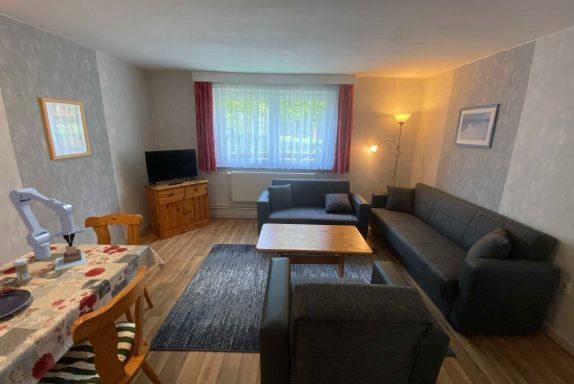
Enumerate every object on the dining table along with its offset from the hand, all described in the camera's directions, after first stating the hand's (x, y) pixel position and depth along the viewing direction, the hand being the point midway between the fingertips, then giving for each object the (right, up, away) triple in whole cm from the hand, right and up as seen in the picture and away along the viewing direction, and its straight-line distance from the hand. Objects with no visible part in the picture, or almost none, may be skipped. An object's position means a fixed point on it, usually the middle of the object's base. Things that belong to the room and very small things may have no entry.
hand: (70, 245), depth 151 cm
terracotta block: (0, -5, +1) cm, 5 cm away
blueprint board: (0, -10, 0) cm, 10 cm away
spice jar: (-4, -15, -22) cm, 27 cm away
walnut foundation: (0, -8, +2) cm, 9 cm away
